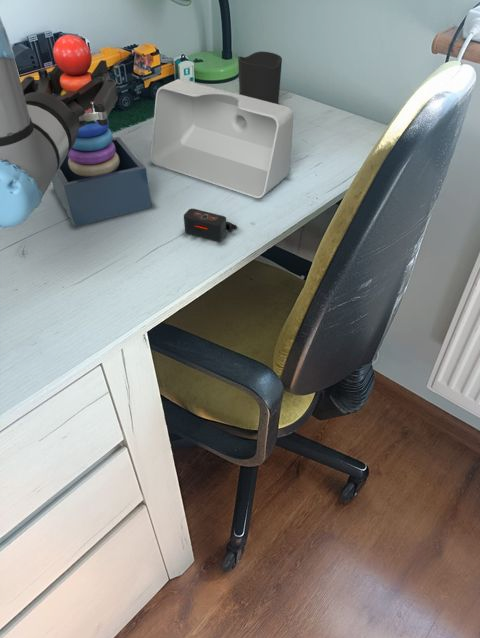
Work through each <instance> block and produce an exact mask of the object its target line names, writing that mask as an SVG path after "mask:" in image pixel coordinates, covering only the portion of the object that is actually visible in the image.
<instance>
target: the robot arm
mask: <svg viewBox="0 0 480 638" xmlns="http://www.w3.org/2000/svg"><path fill="white" fill-rule="evenodd" d="M37 73H38V79H35V77H34V76H32V75H27V76H25V77H24V78H23V79H22V81H21V78H20V74H19V71H18V65H17V62H16V55H15V52H14V50H13V47H12V44H11V42H10V39H9V36H8V33H7V30H6V28H5V26H4V23H3V20H2V17H0V229H11V228H15V227H18V226H20V225H22V224H24V222H26V221H27V220H28V218H29V217H30V216H31V215H32V214H33V212H35V210H36V209H37V208H38V207H39V206H40V205H41V203H42V200H43V198H44V196H45V194H46V192H47V190H48V189H49V186H50V185H51V184H52V180H53V178H54V176H55V175H56V173H57V171H58V170H59V168H60V166H61V165H62V163H63V161H64V160H65V158H66V156H67V155H68V153H69V151H70V150H71V148H72V147H73V145H74V143H75V141H76V138H77V135H78V130H79V128H81V127H83V126H85V125H86V123H87V121H90V120H94V122H98V124H99V125H101V126H105V125H107V124H108V122H109V119H108V117H109V115H110V113H111V111H112V110H113V109H114V107H115V105H116V103H117V101H118V100H119V96H118V89H117V83H116V79H114V78H110V74H109V70H108V64H107V60H105V59H101V60H100V61H99V62H98V64H97V65H96V66H95V68H94V69H93V71H92V72H91V73H92V74H91V75H90V76H91V81H90V82H88V83H87V84H85V85H84V86H82V87H81V88H80V89H78V90H77V91H68V92H67V93H65V94H64V95H62V96H61V92H62V91H63V90H64V89H63V88H62V87H61V85H60V77H61V75H62V74H64V72H63V71H62V70H61V69H60V68H59V67H58V65H57V64H56V65H55V66H54V68H53V69H52V70H49V71H48V70H47V69H45V68H43V69H38V70H37ZM54 95H57V96H54ZM107 119H108V120H107Z"/></svg>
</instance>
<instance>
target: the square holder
mask: <svg viewBox="0 0 480 638" xmlns="http://www.w3.org/2000/svg"><path fill="white" fill-rule="evenodd" d="M112 142H113V143H114V145H115V148H116V151H115V152H116V153H117V155H118V156H119V160H120V162H119V166H118V167H117V169H116V170H114V171H113V172H111V173H109V174H104V175H99V176H95V177H85V176H80V175H78V174H76V173H74V172H73V171H72V170H71V169H70V167H69V165H68V160H69V157H68V155H67V156H66V158H65V160H64V161H63V163H62V165H61V166H60V168H59V170H58V171H57V173H56V175H55V176H54V178H53V180H52V182H51V184H52V187H53V189H54V192H55V194H56V196H57V197H58V199H59V201H60V203H61V205H62V206H63V208H64V210H65V212H66V214H67V215H68V217H69V219H70V221H71V223H72V224H73V226H74V227H80V226H84V225H88V224H92V223H95V222H99V221H103V220H108V219H111V218H115V217H120V216H123V215H127V214H132V213H135V212H139V211H144V210H149V209H152V201H151V194H150V187H149V179H148V173H147V167H146V166H145V165H144V164H143V163H142V162H141V160H140V159H139V158H138V157H137V155H135V153H134V152H133V151H132V150H131V149H130V147H129V146H128V145H127V144H126V143H125V141H124V140H123V139H122V138H121V137H120V136H116V137H115V136H114V137H113V138H112Z"/></svg>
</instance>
